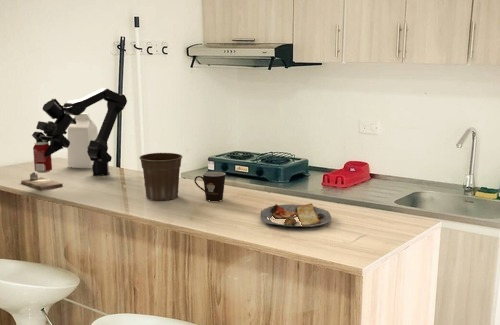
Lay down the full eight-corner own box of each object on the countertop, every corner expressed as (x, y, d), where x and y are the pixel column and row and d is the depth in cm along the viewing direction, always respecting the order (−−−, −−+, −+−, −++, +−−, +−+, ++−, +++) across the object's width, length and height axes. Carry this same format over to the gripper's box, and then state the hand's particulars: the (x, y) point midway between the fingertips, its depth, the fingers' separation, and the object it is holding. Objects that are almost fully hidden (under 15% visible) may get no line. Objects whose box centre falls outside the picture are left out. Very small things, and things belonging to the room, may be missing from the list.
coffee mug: (230, 199, 213) (230, 173, 211) (213, 203, 207) (213, 177, 205) (209, 194, 221) (209, 169, 219) (193, 198, 215) (192, 172, 213)
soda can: (44, 173, 227) (42, 144, 225) (31, 172, 229) (29, 143, 227) (55, 170, 234) (53, 142, 231) (42, 169, 236) (40, 141, 233)
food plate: (260, 208, 200) (261, 199, 199) (326, 210, 199) (326, 200, 198) (259, 232, 175) (260, 221, 175) (334, 234, 175) (334, 223, 174)
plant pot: (170, 204, 206) (169, 161, 203) (132, 200, 211) (131, 158, 208) (190, 194, 221) (189, 154, 218) (154, 190, 226) (153, 151, 223)
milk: (67, 167, 273) (64, 114, 268) (78, 163, 284) (75, 112, 279) (90, 168, 271) (88, 114, 266) (100, 163, 282) (98, 112, 277)
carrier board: (21, 183, 238) (20, 173, 237) (41, 180, 244) (40, 170, 244) (42, 190, 226) (41, 179, 225) (62, 186, 232) (62, 176, 232)
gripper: (34, 112, 235) (12, 141, 229) (61, 115, 225) (40, 146, 218) (51, 128, 243) (31, 157, 237) (79, 132, 233) (58, 162, 226)
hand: (39, 155), depth 229 cm, fingers closed on soda can, 7 cm apart
